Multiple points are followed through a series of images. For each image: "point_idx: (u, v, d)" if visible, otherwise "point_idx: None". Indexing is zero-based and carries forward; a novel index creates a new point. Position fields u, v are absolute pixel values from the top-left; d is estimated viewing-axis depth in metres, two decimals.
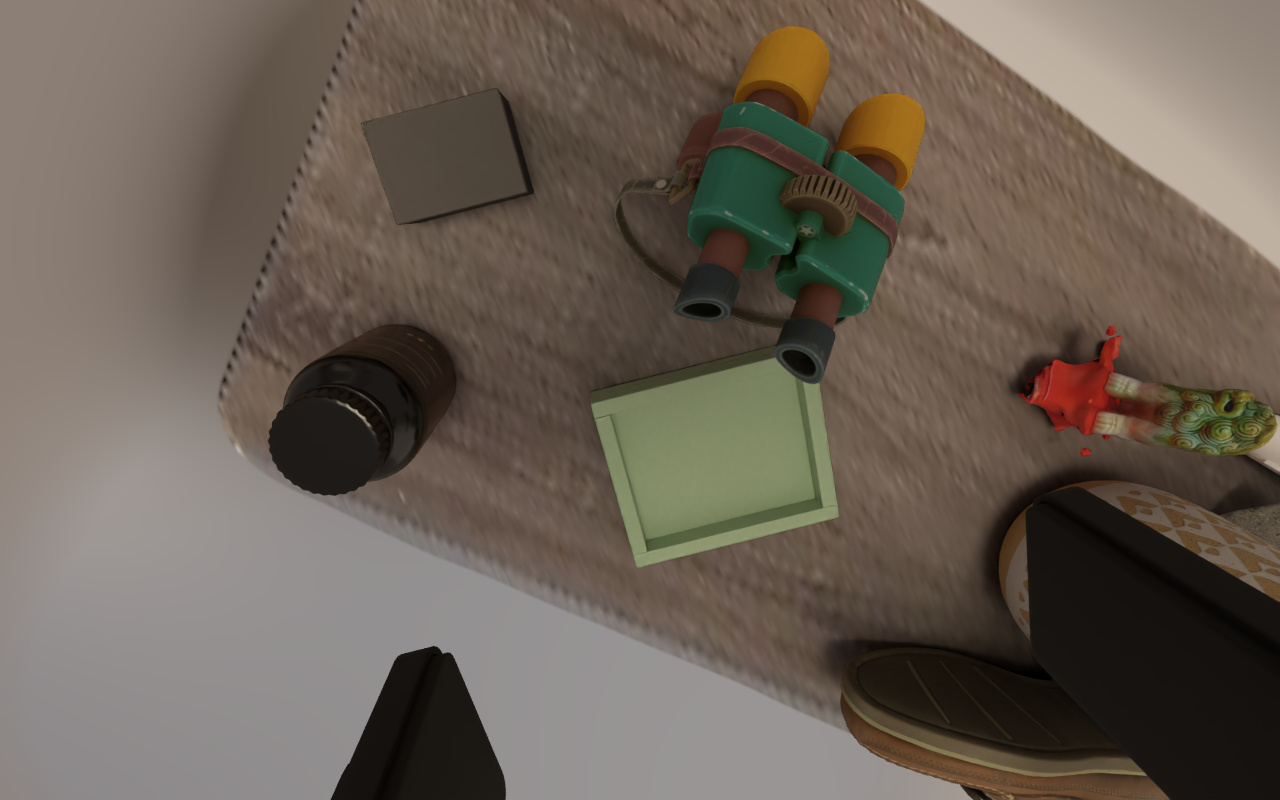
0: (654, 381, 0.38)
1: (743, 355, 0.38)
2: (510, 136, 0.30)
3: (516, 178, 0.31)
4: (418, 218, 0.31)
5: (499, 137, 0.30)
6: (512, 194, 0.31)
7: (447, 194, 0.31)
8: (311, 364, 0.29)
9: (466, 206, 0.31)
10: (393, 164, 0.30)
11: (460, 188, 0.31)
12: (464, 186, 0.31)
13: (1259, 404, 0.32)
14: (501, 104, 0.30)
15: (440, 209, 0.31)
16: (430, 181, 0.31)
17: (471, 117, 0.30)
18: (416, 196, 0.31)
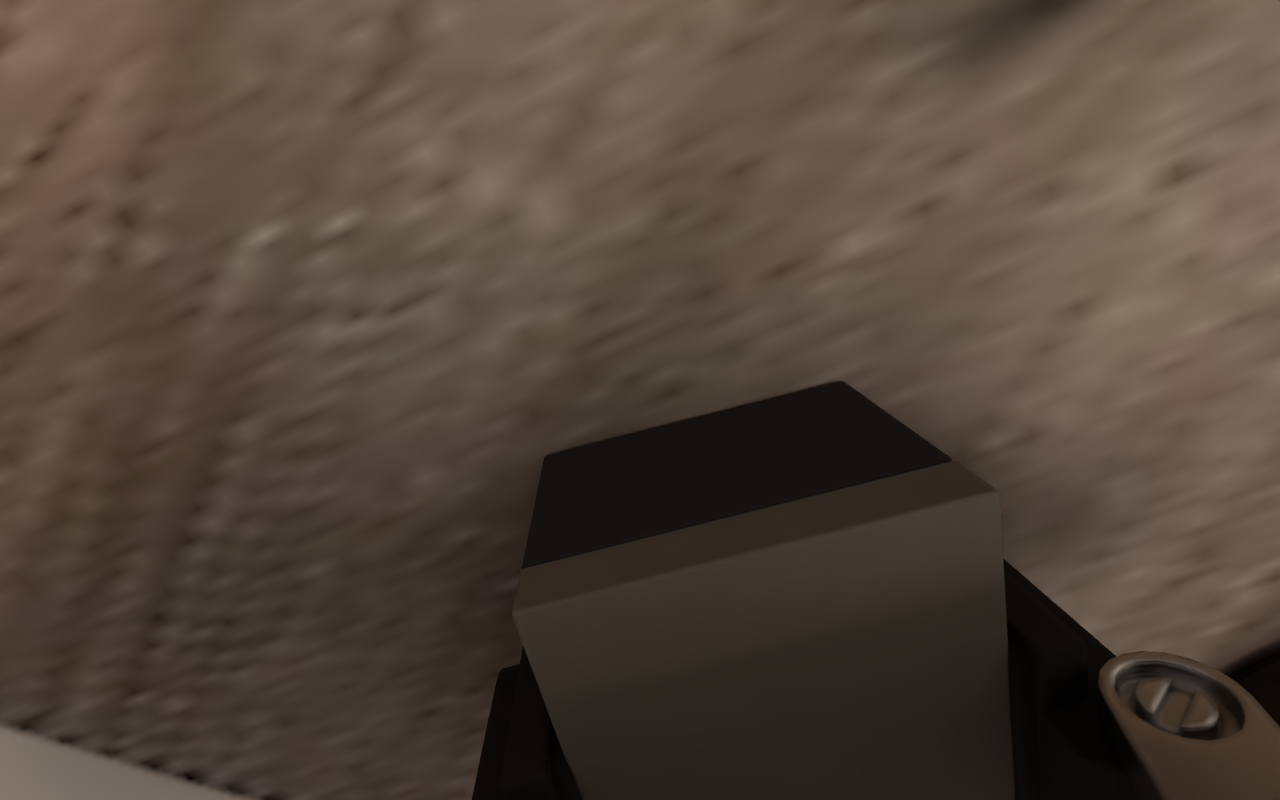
0: None
1: None
2: (731, 558, 0.06)
3: (930, 537, 0.06)
4: None
5: (735, 607, 0.06)
6: (999, 556, 0.06)
7: (949, 798, 0.07)
8: None
9: (1008, 733, 0.07)
10: None
11: (933, 757, 0.07)
12: (929, 742, 0.07)
13: None
14: (584, 593, 0.06)
15: None
16: None
17: (645, 714, 0.06)
18: None
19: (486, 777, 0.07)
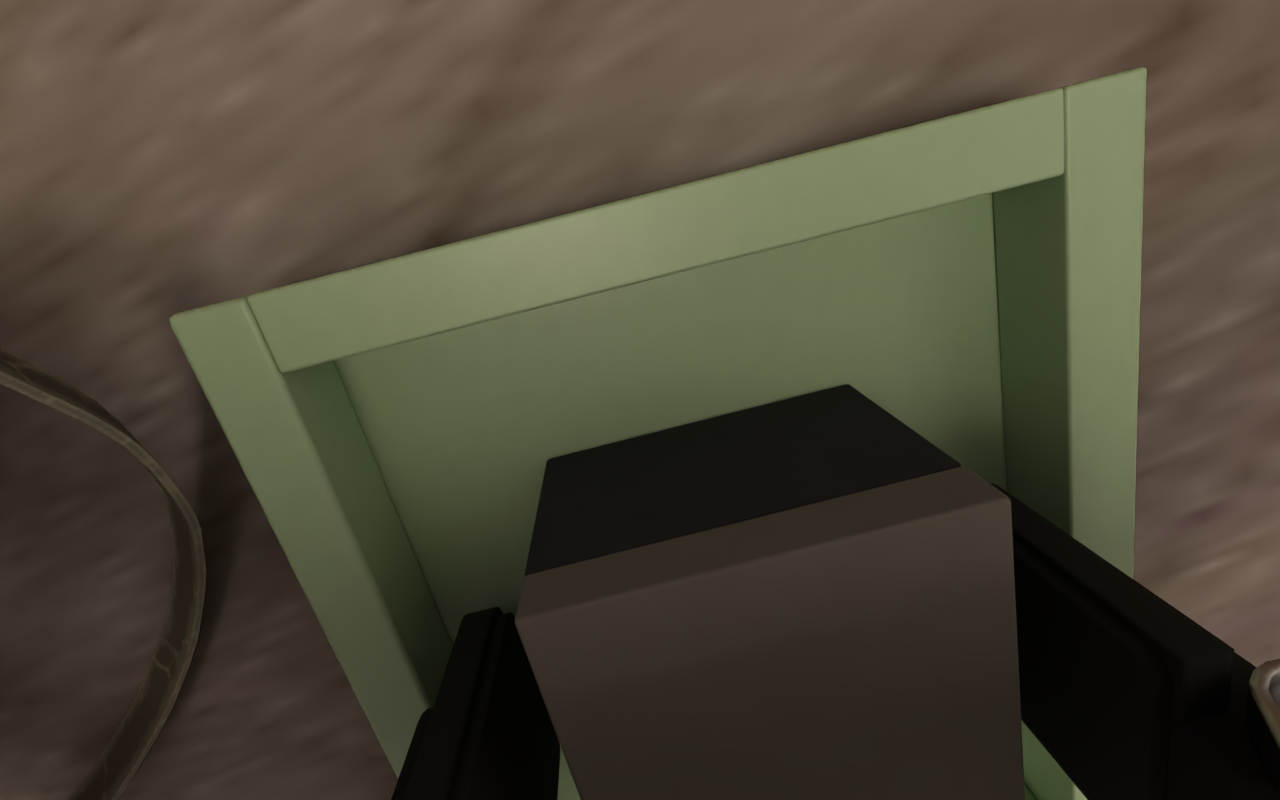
0: None
1: None
2: (737, 565, 0.06)
3: (940, 545, 0.06)
4: None
5: (742, 615, 0.06)
6: (1010, 564, 0.06)
7: None
8: None
9: (1017, 742, 0.07)
10: None
11: (940, 766, 0.07)
12: (937, 752, 0.07)
13: None
14: (588, 601, 0.06)
15: None
16: None
17: (650, 723, 0.06)
18: None
19: None
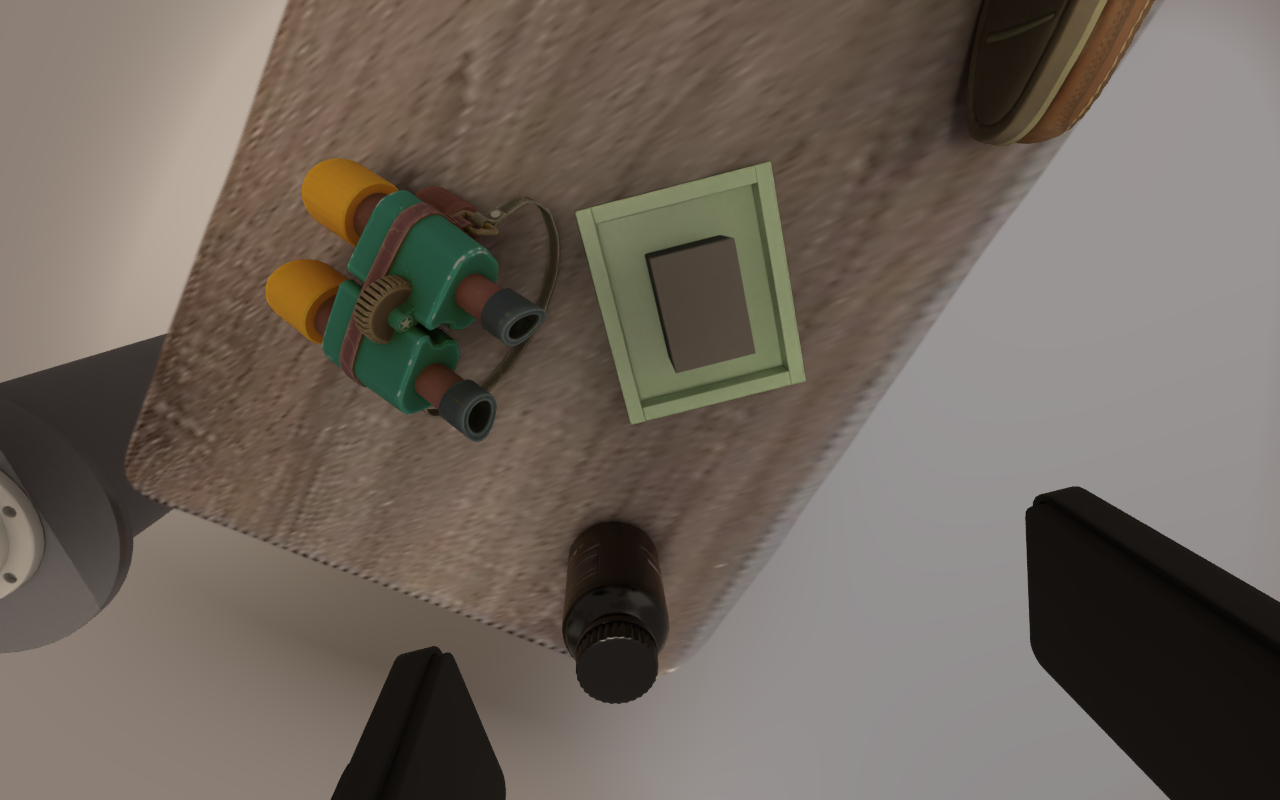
0: None
1: None
2: (688, 250, 0.34)
3: (722, 246, 0.34)
4: (751, 335, 0.36)
5: (689, 259, 0.35)
6: (736, 251, 0.35)
7: (733, 308, 0.36)
8: (570, 653, 0.38)
9: (743, 293, 0.35)
10: (707, 351, 0.36)
11: (728, 297, 0.35)
12: (727, 293, 0.35)
13: None
14: (662, 256, 0.34)
15: (745, 316, 0.36)
16: (722, 322, 0.36)
17: (672, 283, 0.35)
18: (733, 334, 0.36)
19: None
